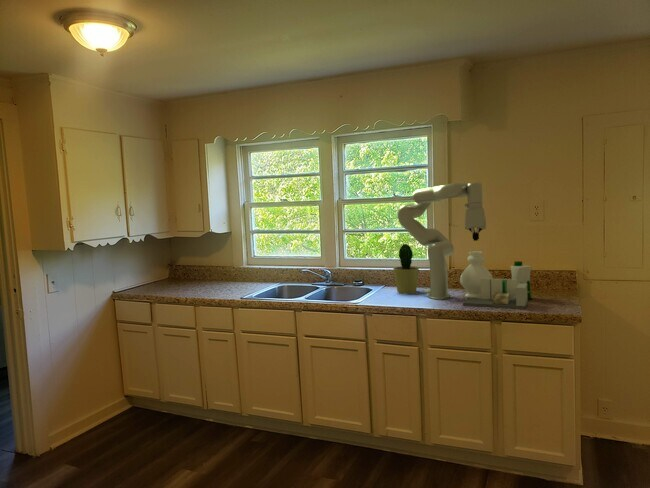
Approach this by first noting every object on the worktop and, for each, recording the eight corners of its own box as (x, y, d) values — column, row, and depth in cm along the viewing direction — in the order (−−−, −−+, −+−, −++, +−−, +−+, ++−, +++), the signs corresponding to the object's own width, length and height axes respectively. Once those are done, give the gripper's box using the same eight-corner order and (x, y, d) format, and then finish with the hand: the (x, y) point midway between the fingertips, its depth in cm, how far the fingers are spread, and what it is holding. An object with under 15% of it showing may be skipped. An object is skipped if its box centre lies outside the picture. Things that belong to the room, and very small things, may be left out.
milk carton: (522, 296, 270) (522, 260, 268) (533, 299, 261) (533, 262, 260) (509, 298, 268) (508, 261, 266) (519, 301, 259) (519, 263, 257)
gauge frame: (463, 305, 256) (462, 282, 255) (468, 300, 267) (467, 277, 266) (524, 309, 242) (524, 284, 241) (527, 303, 254) (527, 279, 252)
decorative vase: (500, 296, 273) (499, 252, 271) (474, 300, 267) (473, 254, 265) (479, 291, 290) (478, 249, 288) (454, 295, 283) (452, 252, 281)
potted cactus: (389, 291, 305) (387, 243, 302) (412, 288, 309) (410, 241, 306) (400, 295, 290) (399, 245, 287) (424, 292, 295) (422, 243, 292)
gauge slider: (492, 303, 250) (492, 285, 250) (495, 299, 259) (495, 281, 258) (507, 304, 247) (507, 285, 246) (510, 300, 256) (509, 282, 255)
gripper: (459, 206, 259) (460, 241, 261) (488, 205, 252) (489, 241, 254) (462, 206, 266) (463, 239, 268) (490, 205, 259) (491, 239, 261)
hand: (475, 240), depth 261 cm, fingers closed
